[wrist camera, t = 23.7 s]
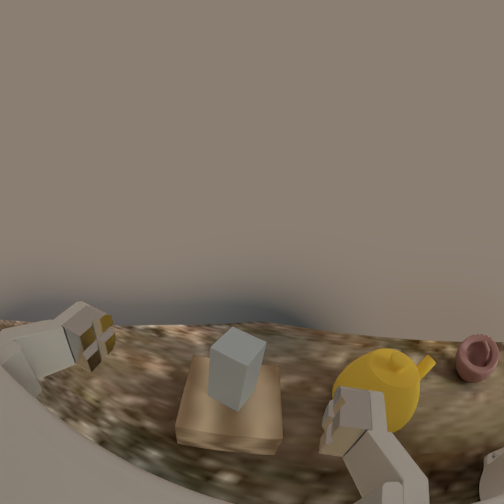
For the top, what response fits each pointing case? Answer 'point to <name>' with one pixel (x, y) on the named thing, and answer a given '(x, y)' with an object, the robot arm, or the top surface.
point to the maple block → (230, 414)
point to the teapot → (388, 382)
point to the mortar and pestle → (476, 358)
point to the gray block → (235, 367)
